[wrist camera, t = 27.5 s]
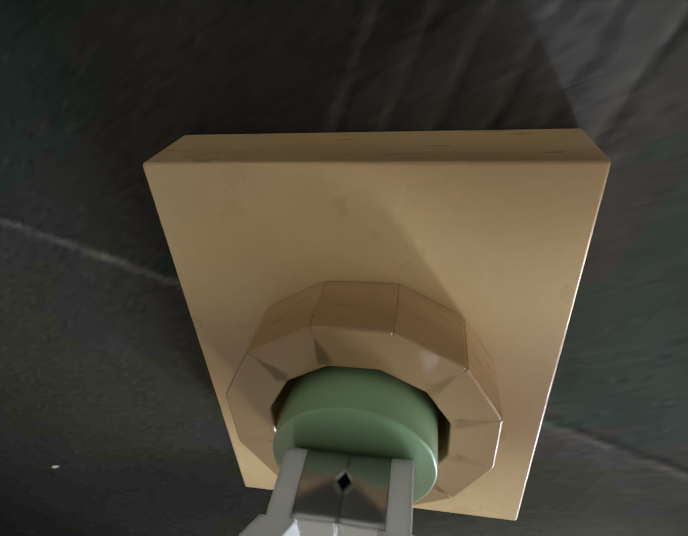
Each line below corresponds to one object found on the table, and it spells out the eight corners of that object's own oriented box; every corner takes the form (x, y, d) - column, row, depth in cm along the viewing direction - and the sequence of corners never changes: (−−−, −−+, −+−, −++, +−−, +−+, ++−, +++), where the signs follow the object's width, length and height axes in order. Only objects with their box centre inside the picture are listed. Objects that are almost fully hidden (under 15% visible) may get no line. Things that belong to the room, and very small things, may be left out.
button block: (183, 134, 12) (91, 196, 9) (583, 127, 10) (649, 201, 7) (262, 438, 19) (227, 535, 16) (508, 464, 18) (525, 579, 14)
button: (280, 347, 12) (259, 401, 10) (441, 358, 11) (442, 418, 9) (299, 445, 14) (283, 501, 12) (434, 459, 13) (434, 521, 12)
